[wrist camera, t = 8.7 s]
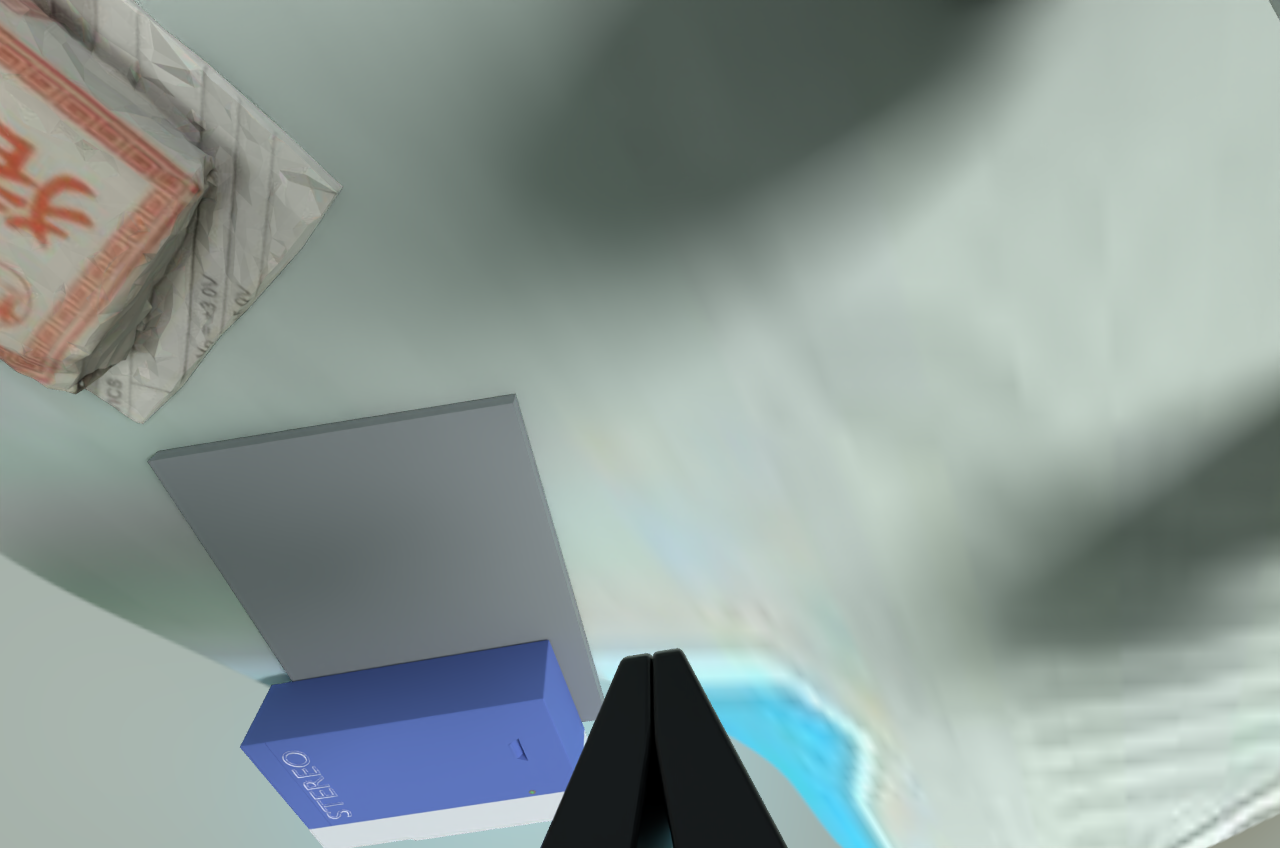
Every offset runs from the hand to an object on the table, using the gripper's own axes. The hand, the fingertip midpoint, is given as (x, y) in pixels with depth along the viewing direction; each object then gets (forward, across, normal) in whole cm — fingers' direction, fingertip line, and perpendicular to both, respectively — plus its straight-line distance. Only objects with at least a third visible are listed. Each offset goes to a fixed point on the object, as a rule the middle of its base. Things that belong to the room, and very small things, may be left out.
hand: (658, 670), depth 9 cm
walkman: (+10, +6, +16) cm, 20 cm away
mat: (+12, +11, +9) cm, 19 cm away
